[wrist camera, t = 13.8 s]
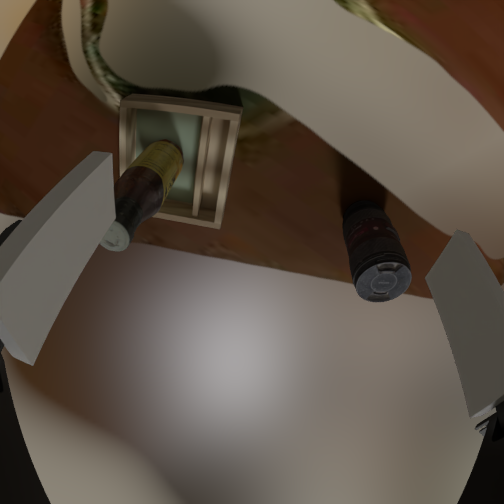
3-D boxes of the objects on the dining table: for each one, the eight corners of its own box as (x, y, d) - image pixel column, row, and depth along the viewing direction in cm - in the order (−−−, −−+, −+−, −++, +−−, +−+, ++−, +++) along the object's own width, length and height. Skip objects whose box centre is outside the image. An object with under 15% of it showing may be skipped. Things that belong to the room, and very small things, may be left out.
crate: (132, 93, 37) (120, 100, 34) (243, 107, 38) (240, 114, 35) (131, 198, 49) (122, 211, 46) (223, 214, 50) (219, 229, 47)
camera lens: (338, 197, 46) (357, 263, 35) (387, 194, 45) (419, 258, 34) (338, 238, 51) (352, 307, 40) (383, 235, 50) (407, 301, 39)
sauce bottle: (163, 181, 46) (111, 271, 31) (138, 152, 43) (70, 231, 28) (196, 160, 43) (150, 248, 28) (170, 127, 40) (105, 200, 25)
